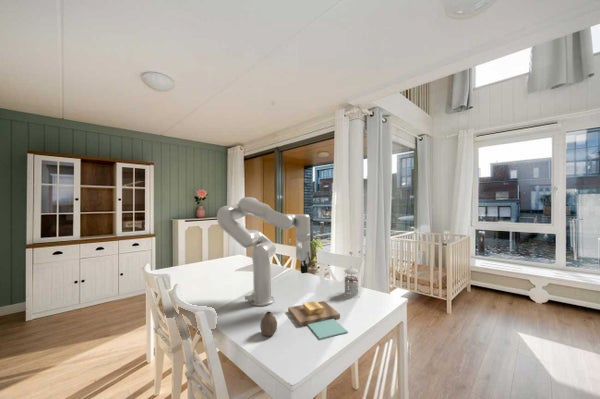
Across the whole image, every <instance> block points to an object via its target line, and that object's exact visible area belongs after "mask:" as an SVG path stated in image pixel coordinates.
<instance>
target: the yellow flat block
mask: <svg viewBox="0 0 600 399" xmlns="http://www.w3.org/2000/svg"><path fill="white" fill-rule="evenodd" d="M318 302H319V301H317V300H315V301H310V302H304V303H303V304H302V305H303V309H304V310H305V311H306V312H307V313H308V314H309V315H310V316H311V315H316V314H321V313H324V308H323V307H322V306H321V305H320V304H319V303H318Z"/></svg>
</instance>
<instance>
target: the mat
mask: <svg viewBox="0 0 600 399" xmlns="http://www.w3.org/2000/svg"><path fill="white" fill-rule="evenodd" d="M307 327H308V328H309V330H311V331H312V332H313V334H314V335H315V336H316V337H317V338H318V340H319V341H321V340H323V339H329V338H331V337H336V336H340V335H344V334H348V333H349V332H348V330H347V329H346V328H345V327H344V326H342V325H341V324H340V322H338V321H337V319H329V320H324V321H319V322H315V323H310V324H308V325H307Z"/></svg>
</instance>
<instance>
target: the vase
mask: <svg viewBox="0 0 600 399" xmlns="http://www.w3.org/2000/svg"><path fill="white" fill-rule="evenodd" d="M259 327H260V332H261V333H262V335H264V336H265V337H271V336H273V335H274V334H276V332H277V329H278V321H277V318H276V317H275V316H274V315H273V313H272V311H266V312H265V314H264V316H263V317H262V318H261V320H260V326H259Z"/></svg>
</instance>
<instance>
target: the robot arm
mask: <svg viewBox="0 0 600 399" xmlns="http://www.w3.org/2000/svg"><path fill="white" fill-rule="evenodd" d="M248 215H250V216H253V217H256V218H257V219H260V220H262V221H264V222H265V223H268V224H269V225H271V226H274V227H277V228H279V229H282V230H289V229H292V228H295V240H296V243H295V244H296V246H295V258H296V259H298V260H299V262H300V263H299V264H300V273H301V274H308V264H309V263H310V261H311V259H312V258H311V257H312V253H311V252H312V251H311V250H312V249H311V242H310V241H311V216H310V215H309V214H307V213H303V214H302V213H301V214H299V213H298V214H295V213H287V214H285V213H281V212H279V211H276V210H274V209H272V207H271V206H270V205H269V204H267V203H264V202H261V201H259V200H258V199H257V198H255V197H253V196H252V197H251V196H245V197H242V198H241V199H240V200H239V201H238V203H236V204H231V205H224V206H222V207H220V208H219V209H218V211H217V215H216V221H217V223H218V227H220V229H222V230H223V231H224V232H225V233H227V235H229V236H230V237H231V238H232V239H233V240H235V242H237V243H238V244H239V245H240V246H242V247H243V249H250V248H252V247H253V249H252V251H251V260H252V270H253V273H252V274H253V278H252V279H253V292H252V293H251V294H250V295H244V300H246V301H248V302H249V301H250V303H251V305H253V306H256V307H266V306H269V305H271V304H273V303H274V301H275V297H274V296H272V268H271V267H272V266H271V260H270V259H271V257H272V256H274V254H275V253H276V246H275V244H274V242H273V241H272V240H271V239H269V238H268V236H266V235H264V234H263V233H262V232H261V231H259V230H257V229H248V228H246V227H245V226H244V225H243V224H242V223H240V222H238V221H236V220H239V219H241V218H243V217H246V216H248Z"/></svg>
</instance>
